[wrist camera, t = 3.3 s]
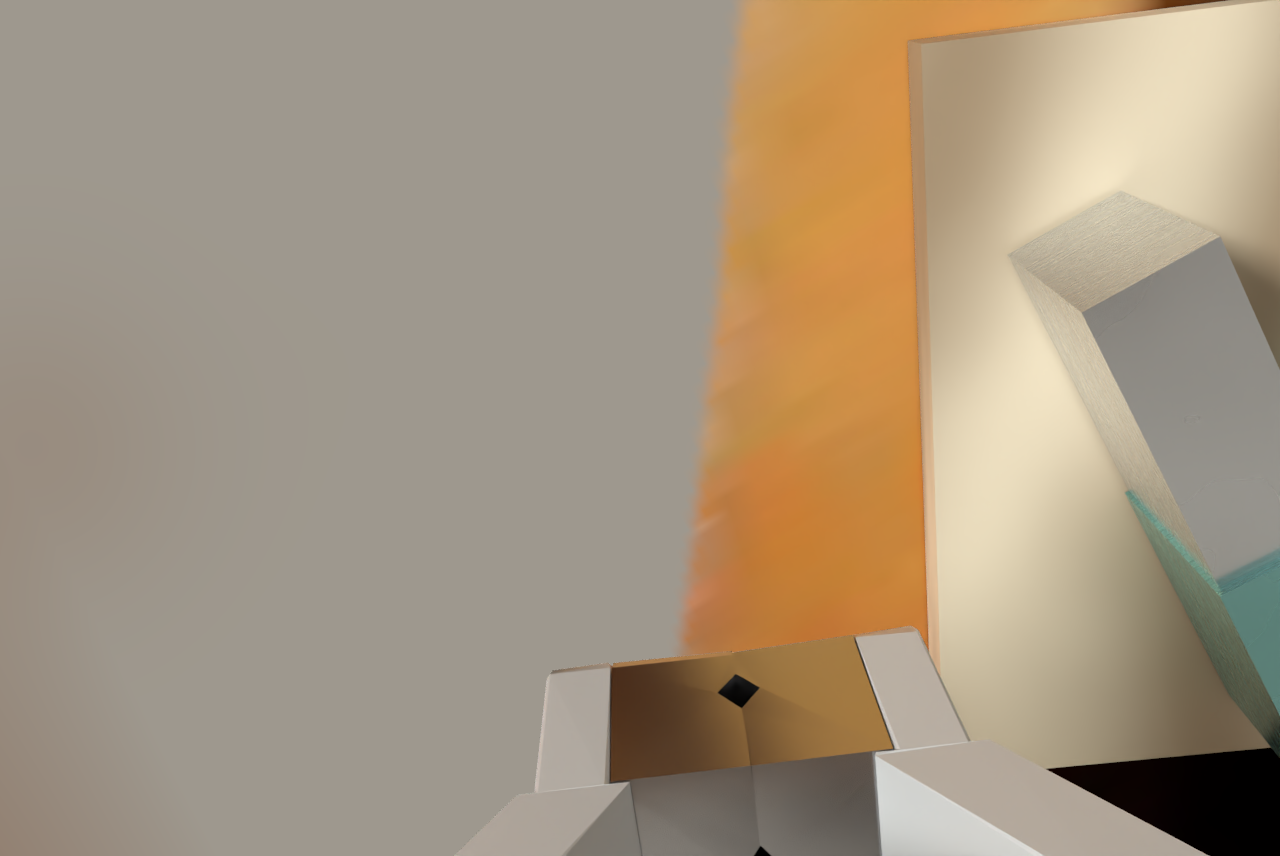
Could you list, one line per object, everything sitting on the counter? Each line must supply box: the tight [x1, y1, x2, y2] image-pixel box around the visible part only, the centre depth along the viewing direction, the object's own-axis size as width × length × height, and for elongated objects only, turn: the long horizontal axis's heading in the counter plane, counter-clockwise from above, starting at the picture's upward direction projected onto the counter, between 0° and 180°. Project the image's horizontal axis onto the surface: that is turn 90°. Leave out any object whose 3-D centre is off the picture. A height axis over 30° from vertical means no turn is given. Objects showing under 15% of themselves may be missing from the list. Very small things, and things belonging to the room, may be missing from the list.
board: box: [908, 0, 1280, 769], centre depth 21 cm, size 12×14×1 cm
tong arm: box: [1008, 191, 1280, 758], centre depth 19 cm, size 2×10×4 cm, turn 32°
